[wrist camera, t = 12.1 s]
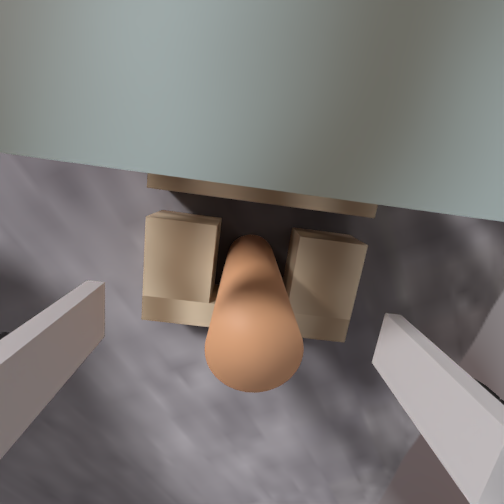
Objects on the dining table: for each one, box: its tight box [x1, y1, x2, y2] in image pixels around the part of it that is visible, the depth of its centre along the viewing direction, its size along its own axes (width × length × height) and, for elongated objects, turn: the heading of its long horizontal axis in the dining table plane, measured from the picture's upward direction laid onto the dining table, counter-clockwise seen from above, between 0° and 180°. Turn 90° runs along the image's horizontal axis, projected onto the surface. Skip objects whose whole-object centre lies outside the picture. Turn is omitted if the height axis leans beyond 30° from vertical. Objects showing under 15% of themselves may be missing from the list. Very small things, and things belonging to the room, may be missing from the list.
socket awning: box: [0, 0, 504, 342], centre depth 15 cm, size 16×17×19 cm
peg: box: [205, 234, 304, 392], centre depth 18 cm, size 4×4×14 cm
